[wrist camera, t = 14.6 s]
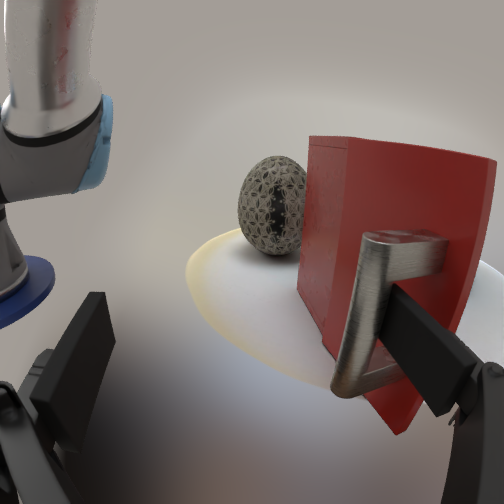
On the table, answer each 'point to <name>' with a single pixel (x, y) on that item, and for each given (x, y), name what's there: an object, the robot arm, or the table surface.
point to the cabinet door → (401, 258)
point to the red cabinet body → (322, 222)
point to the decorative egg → (273, 205)
